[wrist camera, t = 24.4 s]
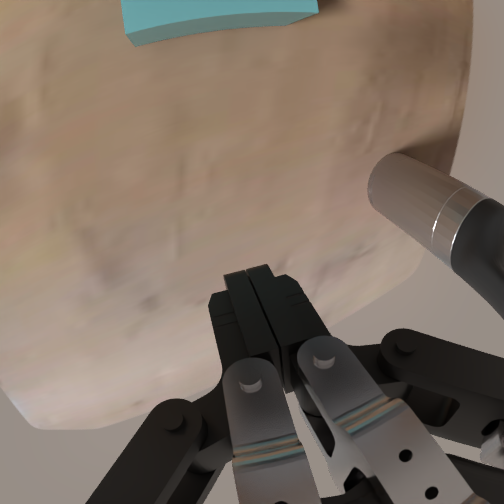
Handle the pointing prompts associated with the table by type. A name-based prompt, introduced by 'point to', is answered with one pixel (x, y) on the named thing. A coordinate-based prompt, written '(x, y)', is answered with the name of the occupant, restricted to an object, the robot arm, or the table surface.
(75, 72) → the table surface
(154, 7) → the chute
